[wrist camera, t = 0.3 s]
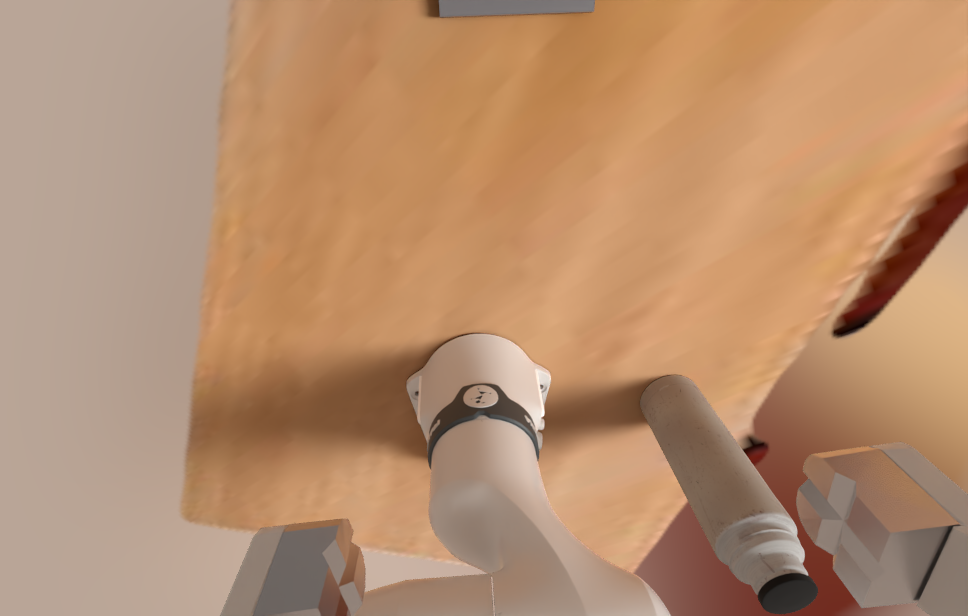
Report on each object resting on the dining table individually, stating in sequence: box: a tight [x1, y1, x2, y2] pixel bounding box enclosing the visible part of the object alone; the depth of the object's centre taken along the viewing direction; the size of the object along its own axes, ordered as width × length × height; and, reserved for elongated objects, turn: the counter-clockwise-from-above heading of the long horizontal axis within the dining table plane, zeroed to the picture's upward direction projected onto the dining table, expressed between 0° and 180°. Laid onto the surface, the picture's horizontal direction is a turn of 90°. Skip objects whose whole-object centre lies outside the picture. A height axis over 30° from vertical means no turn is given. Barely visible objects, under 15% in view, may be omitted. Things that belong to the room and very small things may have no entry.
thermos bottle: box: [640, 375, 818, 614], centre depth 55 cm, size 8×8×28 cm
